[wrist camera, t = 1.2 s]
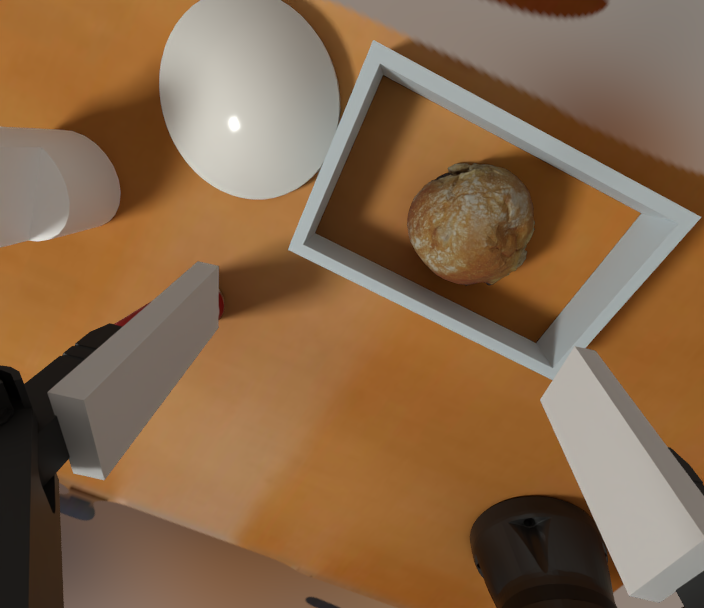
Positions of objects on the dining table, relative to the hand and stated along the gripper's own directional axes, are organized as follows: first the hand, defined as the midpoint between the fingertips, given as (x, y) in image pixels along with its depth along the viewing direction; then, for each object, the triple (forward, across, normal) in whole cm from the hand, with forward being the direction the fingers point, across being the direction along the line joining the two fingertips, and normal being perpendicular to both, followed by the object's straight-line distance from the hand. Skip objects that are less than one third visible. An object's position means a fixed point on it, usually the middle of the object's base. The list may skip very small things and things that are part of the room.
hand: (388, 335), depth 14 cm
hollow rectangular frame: (+21, -7, +1) cm, 23 cm away
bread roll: (+22, -7, +1) cm, 23 cm away
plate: (+23, +13, -4) cm, 27 cm away
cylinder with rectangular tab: (+23, +30, +6) cm, 38 cm away
